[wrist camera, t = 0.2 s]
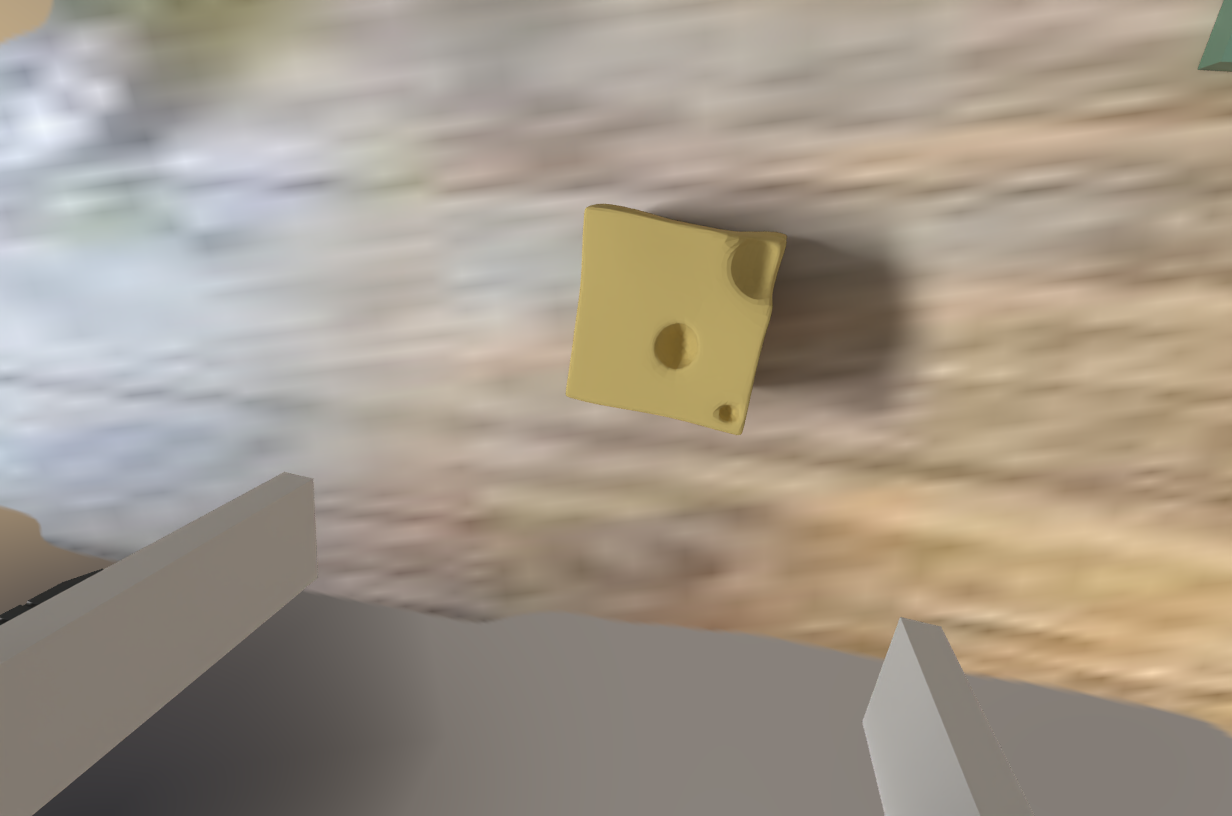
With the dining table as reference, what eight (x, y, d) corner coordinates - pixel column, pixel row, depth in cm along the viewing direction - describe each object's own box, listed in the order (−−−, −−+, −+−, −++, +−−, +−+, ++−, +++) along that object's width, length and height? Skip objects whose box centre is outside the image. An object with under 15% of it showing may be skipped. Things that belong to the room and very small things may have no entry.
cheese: (785, 233, 35) (800, 236, 26) (743, 396, 39) (744, 451, 29) (622, 205, 37) (580, 198, 27) (596, 365, 40) (552, 406, 31)
